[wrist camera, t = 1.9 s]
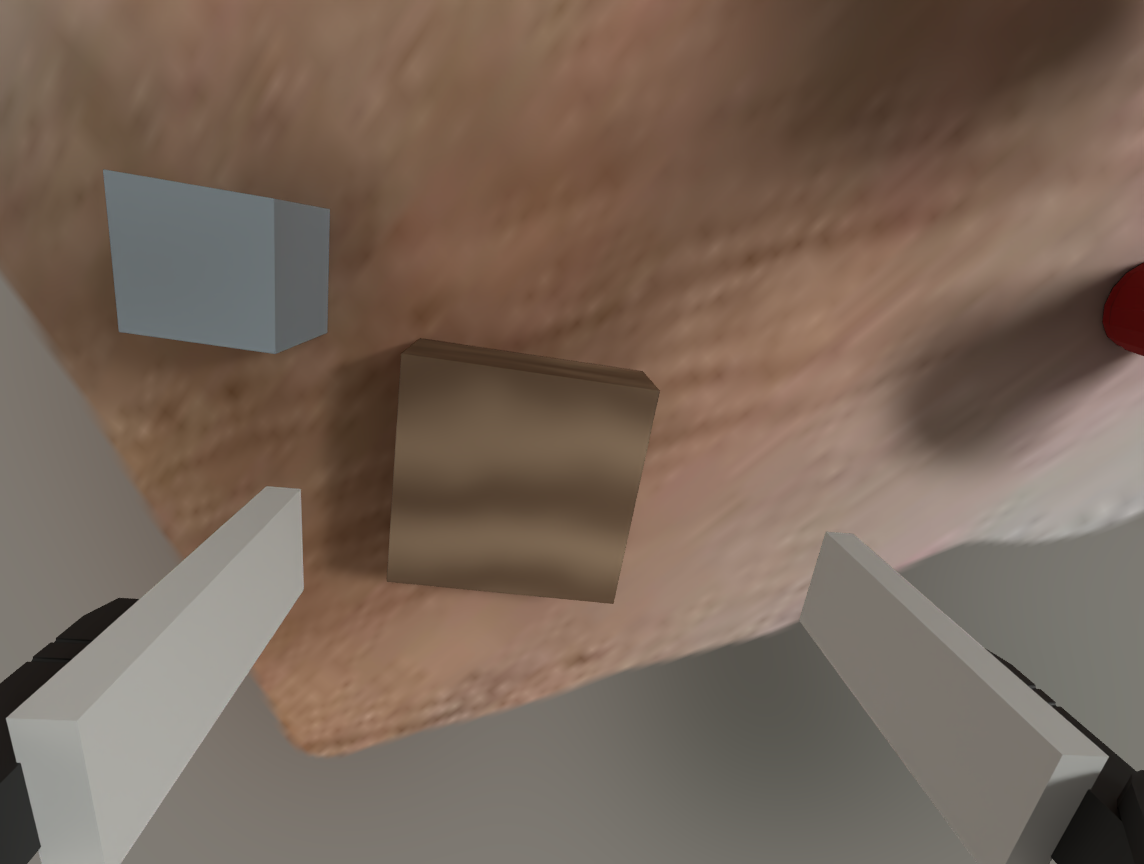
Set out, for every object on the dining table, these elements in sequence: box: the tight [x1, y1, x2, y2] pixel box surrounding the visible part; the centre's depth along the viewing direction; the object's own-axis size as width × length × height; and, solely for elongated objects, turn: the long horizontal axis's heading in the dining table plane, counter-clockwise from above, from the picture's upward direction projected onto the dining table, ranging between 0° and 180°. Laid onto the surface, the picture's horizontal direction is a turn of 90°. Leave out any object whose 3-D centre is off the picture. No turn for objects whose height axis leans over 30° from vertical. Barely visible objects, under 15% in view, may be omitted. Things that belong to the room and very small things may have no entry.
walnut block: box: [387, 338, 660, 604], centre depth 34 cm, size 14×14×5 cm
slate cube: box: [103, 169, 330, 354], centre depth 28 cm, size 7×7×7 cm
